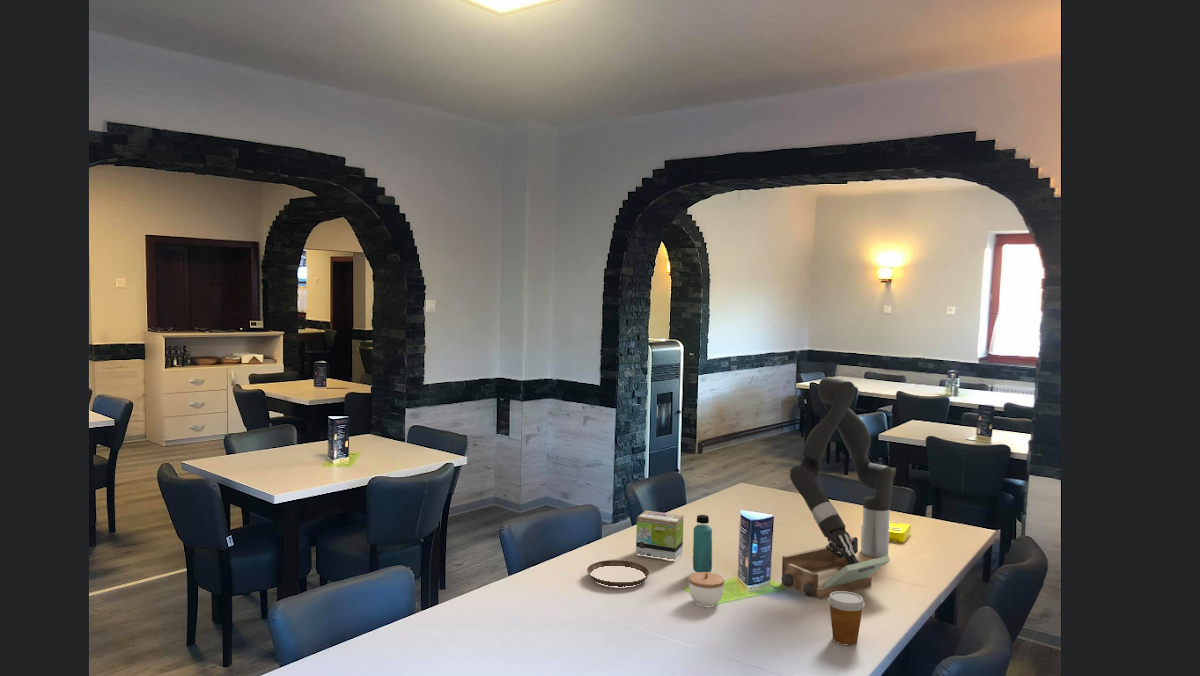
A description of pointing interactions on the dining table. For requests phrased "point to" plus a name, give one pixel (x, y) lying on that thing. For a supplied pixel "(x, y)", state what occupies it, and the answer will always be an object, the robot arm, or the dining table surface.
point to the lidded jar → (706, 588)
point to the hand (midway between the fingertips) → (856, 568)
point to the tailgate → (856, 571)
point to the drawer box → (816, 573)
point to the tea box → (659, 534)
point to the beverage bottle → (702, 545)
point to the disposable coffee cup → (845, 616)
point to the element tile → (899, 531)
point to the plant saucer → (618, 563)
